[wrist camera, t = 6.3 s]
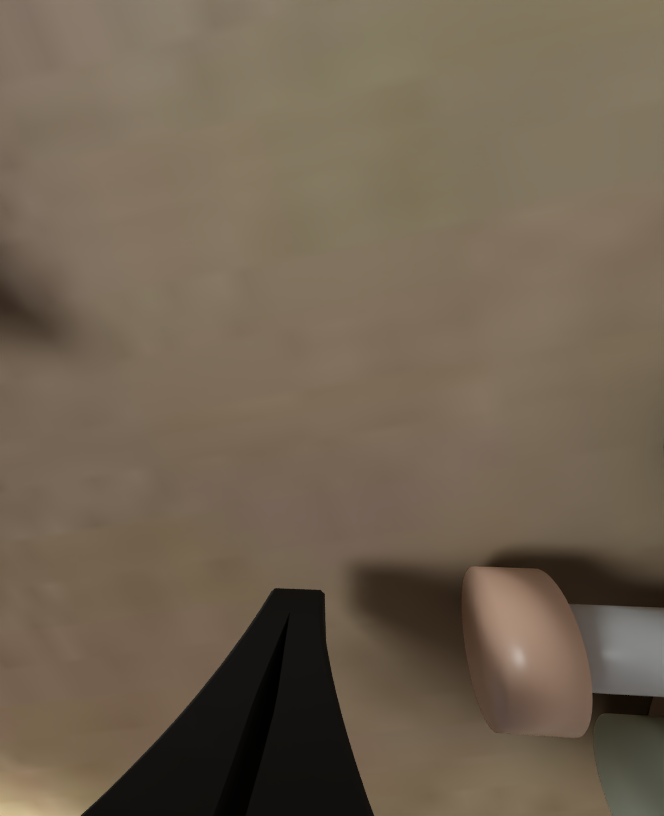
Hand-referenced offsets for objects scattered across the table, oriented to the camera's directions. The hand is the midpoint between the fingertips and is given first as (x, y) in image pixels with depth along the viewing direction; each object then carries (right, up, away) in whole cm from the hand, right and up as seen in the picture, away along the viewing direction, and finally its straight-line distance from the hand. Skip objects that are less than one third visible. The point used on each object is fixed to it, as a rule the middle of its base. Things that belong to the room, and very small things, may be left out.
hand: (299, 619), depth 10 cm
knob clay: (+8, 0, +1) cm, 8 cm away
